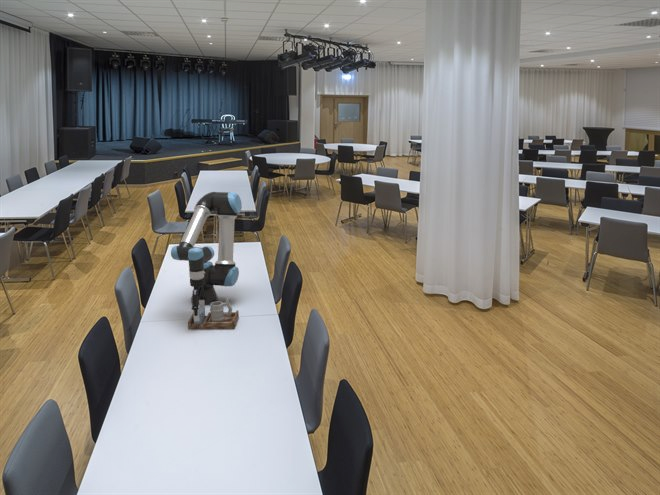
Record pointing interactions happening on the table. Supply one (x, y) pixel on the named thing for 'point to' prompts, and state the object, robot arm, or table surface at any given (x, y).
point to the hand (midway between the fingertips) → (199, 316)
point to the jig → (207, 324)
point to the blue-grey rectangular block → (200, 315)
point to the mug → (219, 311)
